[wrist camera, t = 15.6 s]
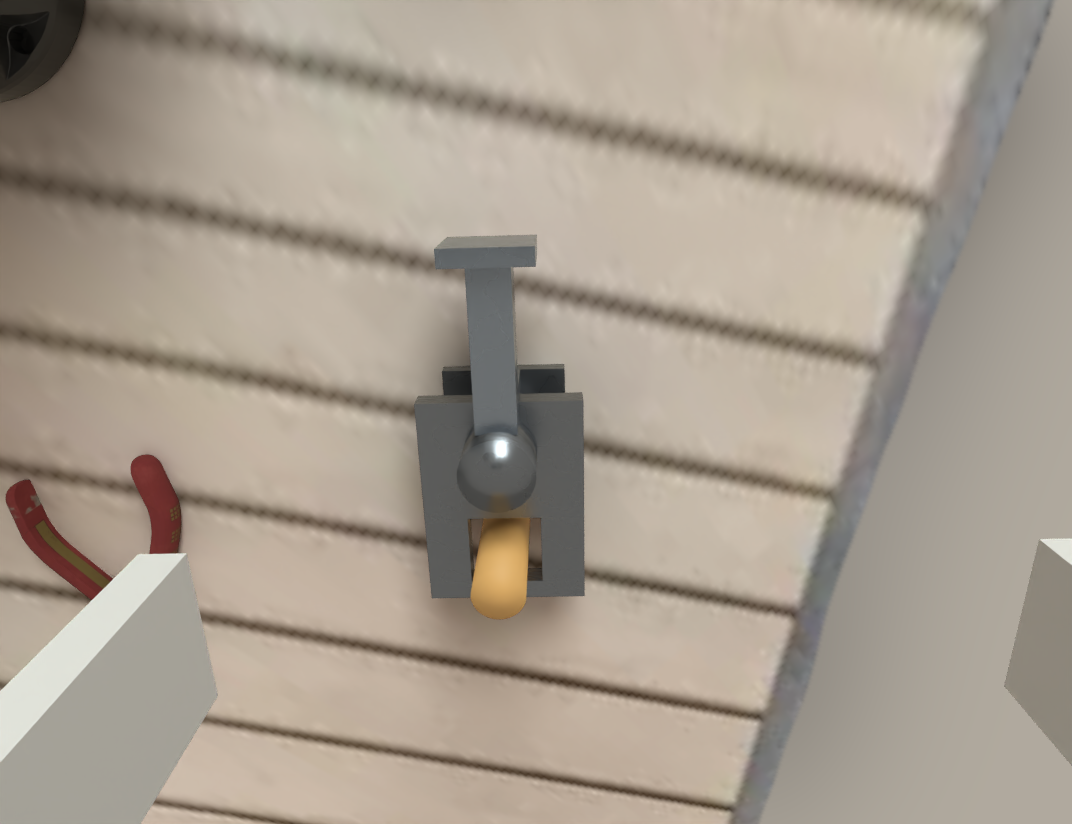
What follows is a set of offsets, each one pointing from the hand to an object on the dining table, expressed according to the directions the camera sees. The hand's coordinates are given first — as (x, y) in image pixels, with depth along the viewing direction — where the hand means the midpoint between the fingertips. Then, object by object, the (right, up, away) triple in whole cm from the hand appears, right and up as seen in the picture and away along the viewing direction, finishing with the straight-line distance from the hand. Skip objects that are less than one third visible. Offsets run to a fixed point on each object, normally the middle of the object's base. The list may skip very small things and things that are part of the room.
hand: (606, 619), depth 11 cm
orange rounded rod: (-3, -4, +40) cm, 41 cm away
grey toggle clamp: (-3, +3, +38) cm, 38 cm away
